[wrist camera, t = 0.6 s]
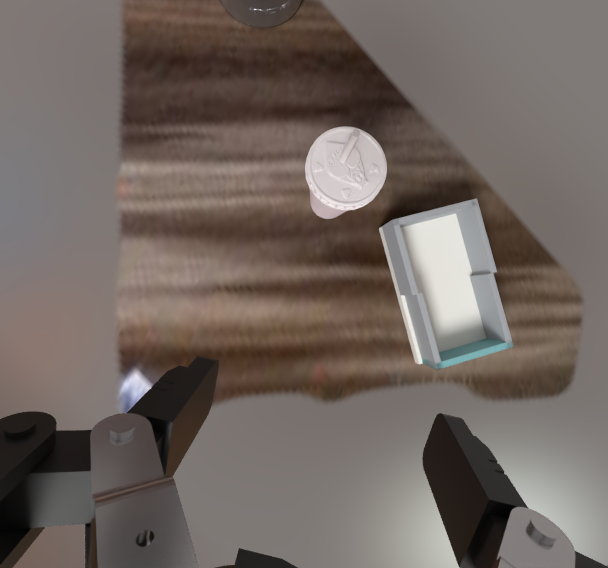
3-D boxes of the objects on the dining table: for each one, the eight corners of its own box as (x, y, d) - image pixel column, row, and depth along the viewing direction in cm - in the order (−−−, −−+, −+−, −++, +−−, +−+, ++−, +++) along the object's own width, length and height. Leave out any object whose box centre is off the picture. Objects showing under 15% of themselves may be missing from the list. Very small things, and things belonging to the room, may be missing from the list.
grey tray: (378, 228, 35) (391, 220, 31) (454, 209, 36) (476, 198, 32) (415, 362, 35) (432, 370, 31) (490, 339, 36) (517, 345, 32)
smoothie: (329, 159, 35) (364, 70, 21) (369, 204, 35) (430, 145, 21) (285, 198, 35) (291, 133, 21) (326, 244, 35) (359, 209, 21)
